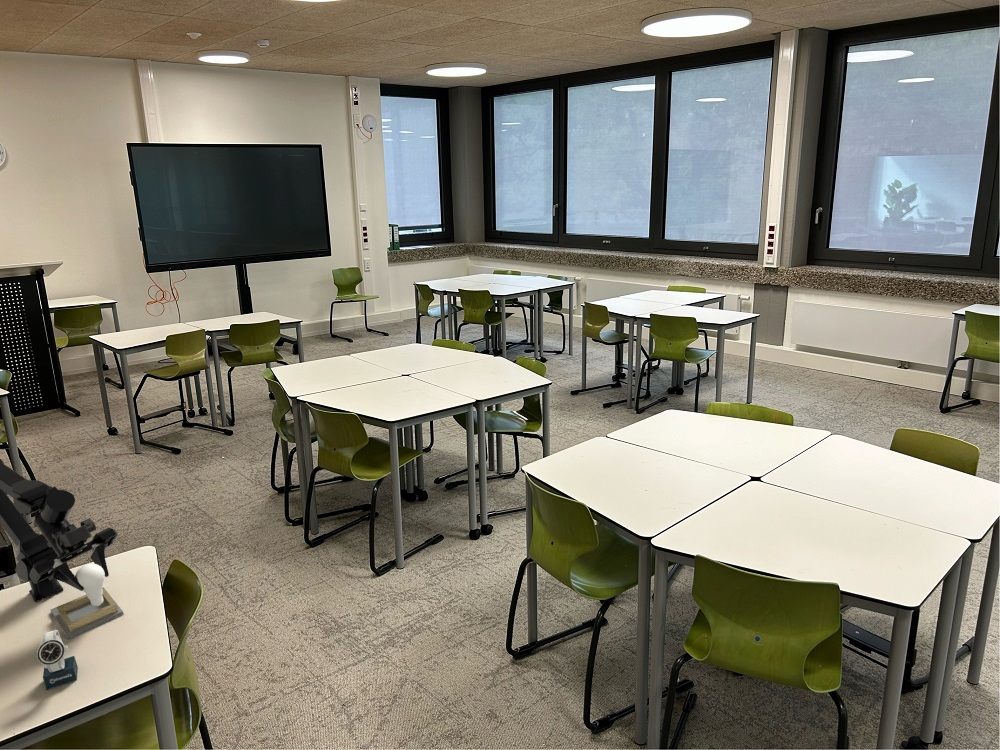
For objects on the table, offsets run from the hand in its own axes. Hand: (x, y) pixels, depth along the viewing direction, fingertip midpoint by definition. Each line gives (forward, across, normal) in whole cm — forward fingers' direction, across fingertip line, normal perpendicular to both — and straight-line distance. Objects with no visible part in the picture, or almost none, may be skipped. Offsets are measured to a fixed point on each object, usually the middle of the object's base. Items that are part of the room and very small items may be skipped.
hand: (95, 583), depth 165 cm
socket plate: (+3, -1, +12) cm, 12 cm away
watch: (+15, -16, -1) cm, 22 cm away
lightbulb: (+4, 0, +6) cm, 7 cm away
